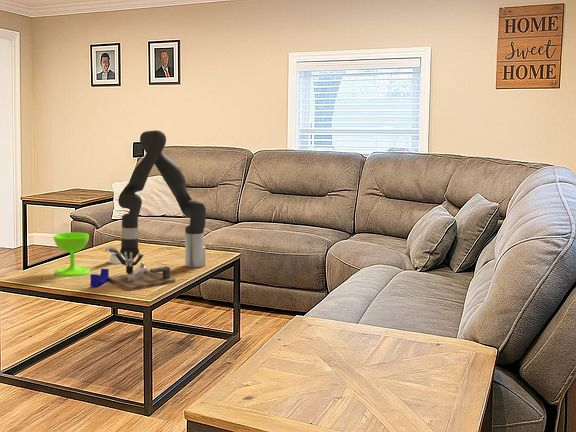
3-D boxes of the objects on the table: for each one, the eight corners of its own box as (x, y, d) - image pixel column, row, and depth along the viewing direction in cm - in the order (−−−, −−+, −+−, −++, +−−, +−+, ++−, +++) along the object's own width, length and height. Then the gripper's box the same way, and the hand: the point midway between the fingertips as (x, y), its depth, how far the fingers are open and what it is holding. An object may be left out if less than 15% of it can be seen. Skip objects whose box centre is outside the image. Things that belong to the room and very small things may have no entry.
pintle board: (152, 273, 302) (152, 260, 301) (175, 282, 287) (175, 268, 286) (107, 280, 287) (107, 266, 286) (129, 290, 272) (129, 276, 271)
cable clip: (99, 281, 287) (99, 268, 286) (108, 281, 286) (108, 268, 285) (87, 287, 275) (87, 274, 274) (97, 288, 274) (96, 275, 273)
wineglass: (48, 272, 299) (47, 235, 296) (78, 266, 311) (77, 231, 308) (66, 278, 289) (64, 240, 286) (96, 272, 301) (95, 235, 298)
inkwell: (130, 260, 327) (129, 241, 326) (115, 268, 310) (114, 248, 308) (113, 259, 329) (113, 240, 327) (97, 267, 311) (97, 247, 309)
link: (139, 271, 298) (139, 261, 297) (148, 271, 298) (148, 261, 297) (126, 280, 281) (126, 270, 280) (136, 281, 280) (136, 270, 280)
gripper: (146, 236, 288) (146, 272, 291) (118, 234, 289) (118, 271, 291) (141, 239, 281) (141, 276, 283) (112, 237, 281) (112, 275, 284)
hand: (129, 273), depth 287 cm, fingers closed
